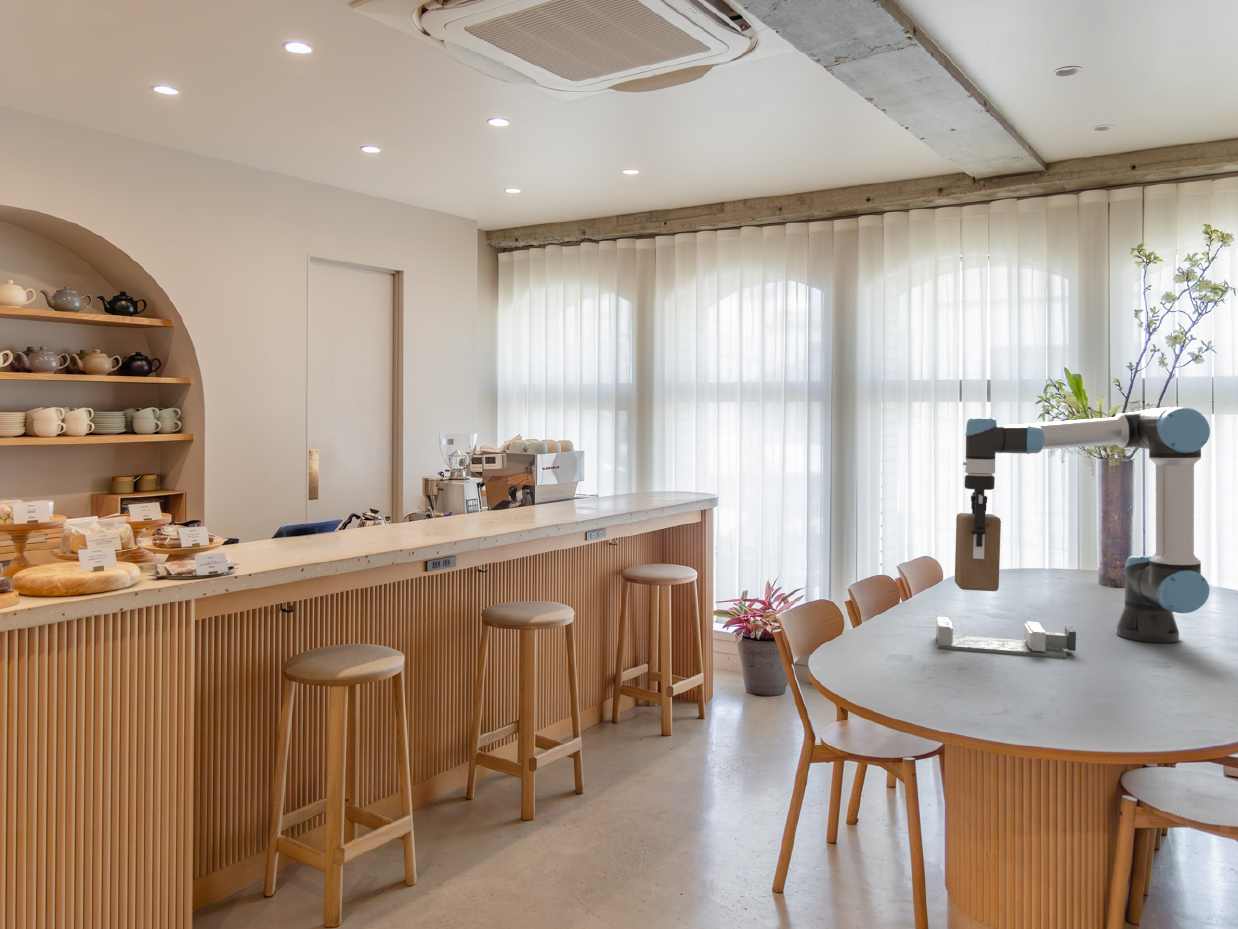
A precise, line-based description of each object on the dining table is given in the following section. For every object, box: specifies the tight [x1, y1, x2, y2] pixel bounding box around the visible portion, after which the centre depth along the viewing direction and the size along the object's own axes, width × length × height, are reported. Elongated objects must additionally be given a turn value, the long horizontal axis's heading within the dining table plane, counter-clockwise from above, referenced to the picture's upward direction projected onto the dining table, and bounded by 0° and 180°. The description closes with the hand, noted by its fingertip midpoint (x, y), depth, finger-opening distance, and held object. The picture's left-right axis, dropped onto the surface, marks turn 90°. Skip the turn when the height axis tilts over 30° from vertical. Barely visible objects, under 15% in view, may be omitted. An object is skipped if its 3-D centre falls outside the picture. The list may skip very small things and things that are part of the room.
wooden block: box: [954, 512, 1002, 592], centre depth 237 cm, size 10×10×20 cm
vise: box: [935, 616, 1068, 660], centre depth 234 cm, size 31×13×6 cm, turn 72°
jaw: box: [1023, 621, 1077, 652], centre depth 230 cm, size 11×12×5 cm
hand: (977, 555), depth 237 cm, fingers closed on wooden block, 10 cm apart
